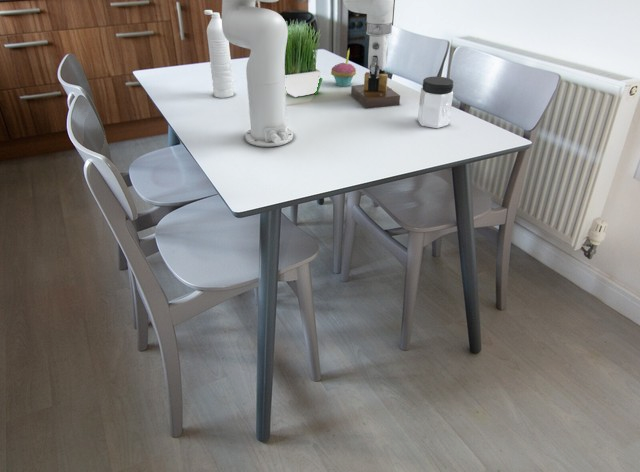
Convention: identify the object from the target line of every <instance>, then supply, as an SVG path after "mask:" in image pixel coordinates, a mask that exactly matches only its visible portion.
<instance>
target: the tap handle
mask: <svg viewBox="0 0 640 472" xmlns="http://www.w3.org/2000/svg"><path fill="white" fill-rule="evenodd" d="M369 72H370V71H368V72H367V71H366V72H365V73H364V80H363V85H364V90H367V91H368V78H369ZM388 75H389V74H388V73H383V74H379V76H378V78H379V89H378V91H381V92H386V90H387V86H388V77H389V76H388Z"/></svg>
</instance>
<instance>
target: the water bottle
mask: <svg viewBox="0 0 640 472" xmlns="http://www.w3.org/2000/svg"><path fill="white" fill-rule="evenodd" d="M203 13H204V15H207V16H209V15H211V19H210V21H209V23H208V25H207V27H206V38H207V45H208V55H209V62H210V63H209V64H210V72H211V81H212V91H213V96H214V97H216V98H221V99H226V98H231V97H233V96H234V94H235V90H234V81H233V71H232V58H231V57H232V56H231V49H230V42H229V41H228V40H227V39H226V37H225V35H224V33H223V30H222V17H221V15H220V12H215V11H214V12H213V10H212V9H205V10H203Z"/></svg>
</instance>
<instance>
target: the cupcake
mask: <svg viewBox="0 0 640 472" xmlns="http://www.w3.org/2000/svg"><path fill="white" fill-rule="evenodd" d="M350 49H351V48H350V47H349V48H348V50H347V53H346V60H345V62H340V63H337V64H335V65H333V66H332V67H331V71H330V75H332V76H333V77H334V80H335V84H336V86H339V87H349V86H350V85H351V83H352V80H353V78H354V76H356V74H357V70H356V69H357V68H356V67H355V66H354V65H352V64H351V63H349V58H350V51H351V50H350Z"/></svg>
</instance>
